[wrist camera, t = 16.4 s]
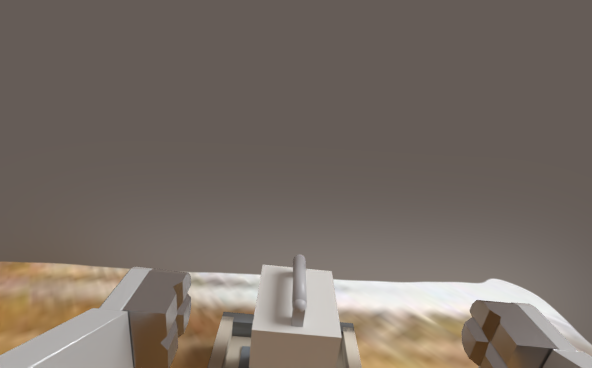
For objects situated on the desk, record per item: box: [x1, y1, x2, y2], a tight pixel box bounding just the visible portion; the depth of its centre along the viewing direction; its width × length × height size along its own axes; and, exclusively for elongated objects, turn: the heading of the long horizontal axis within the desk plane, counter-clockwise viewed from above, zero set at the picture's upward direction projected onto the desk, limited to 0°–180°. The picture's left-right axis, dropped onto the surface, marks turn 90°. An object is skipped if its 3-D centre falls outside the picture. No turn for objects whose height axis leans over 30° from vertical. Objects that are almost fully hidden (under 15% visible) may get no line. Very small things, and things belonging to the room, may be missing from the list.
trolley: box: [249, 254, 342, 368], centre depth 26 cm, size 7×6×13 cm
